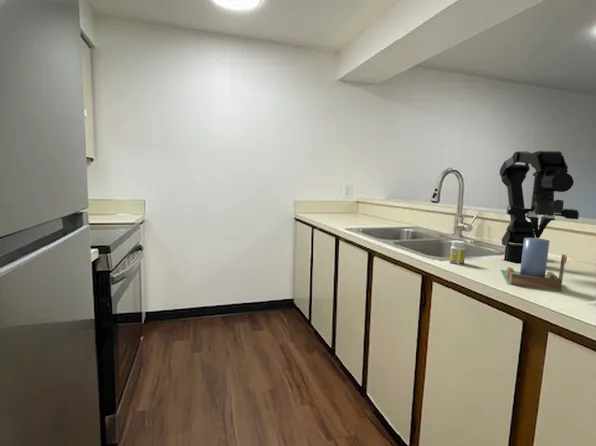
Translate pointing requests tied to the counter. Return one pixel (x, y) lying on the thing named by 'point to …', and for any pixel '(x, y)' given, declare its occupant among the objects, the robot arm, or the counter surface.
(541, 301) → the counter surface
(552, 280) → the wooden rack
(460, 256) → the supplement bottle
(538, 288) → the felt mat
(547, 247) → the blue domed cylinder
